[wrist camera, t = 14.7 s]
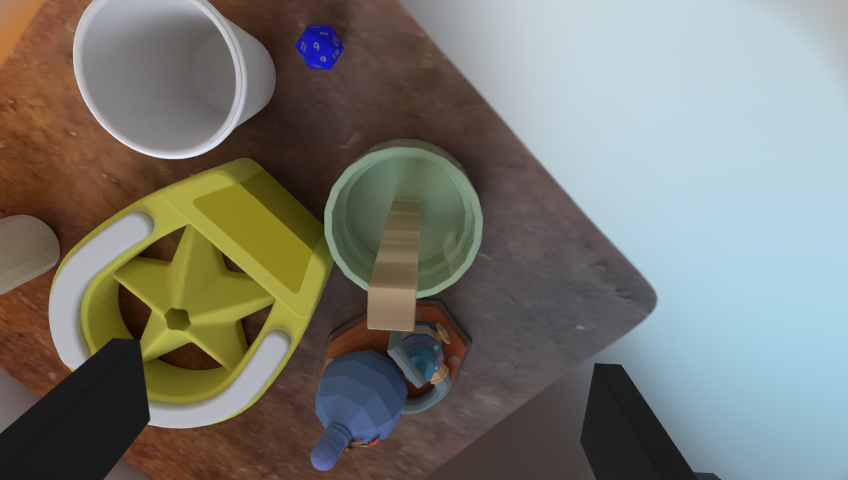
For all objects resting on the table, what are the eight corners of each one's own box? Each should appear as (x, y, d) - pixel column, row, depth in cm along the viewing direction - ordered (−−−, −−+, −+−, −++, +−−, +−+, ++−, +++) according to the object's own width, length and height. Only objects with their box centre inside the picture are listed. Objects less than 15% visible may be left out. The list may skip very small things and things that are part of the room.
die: (305, 70, 34) (280, 42, 31) (325, 39, 34) (303, 8, 31) (335, 84, 33) (313, 56, 30) (356, 51, 33) (336, 20, 30)
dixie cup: (286, 149, 35) (235, 176, 26) (166, 122, 35) (68, 138, 25) (305, 23, 33) (255, 1, 23) (176, -8, 32) (71, -44, 23)
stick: (393, 196, 36) (367, 285, 21) (421, 198, 36) (416, 288, 21) (392, 224, 36) (366, 329, 21) (419, 225, 36) (414, 332, 21)
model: (367, 433, 43) (351, 526, 34) (298, 353, 40) (262, 431, 32) (487, 363, 40) (503, 442, 32) (421, 274, 38) (419, 334, 29)
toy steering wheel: (377, 275, 38) (370, 303, 33) (206, 433, 43) (178, 477, 38) (206, 115, 35) (171, 121, 30) (40, 305, 39) (-14, 337, 34)
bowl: (338, 133, 35) (324, 142, 30) (481, 142, 35) (490, 152, 30) (337, 268, 38) (324, 295, 33) (469, 275, 38) (475, 303, 33)
